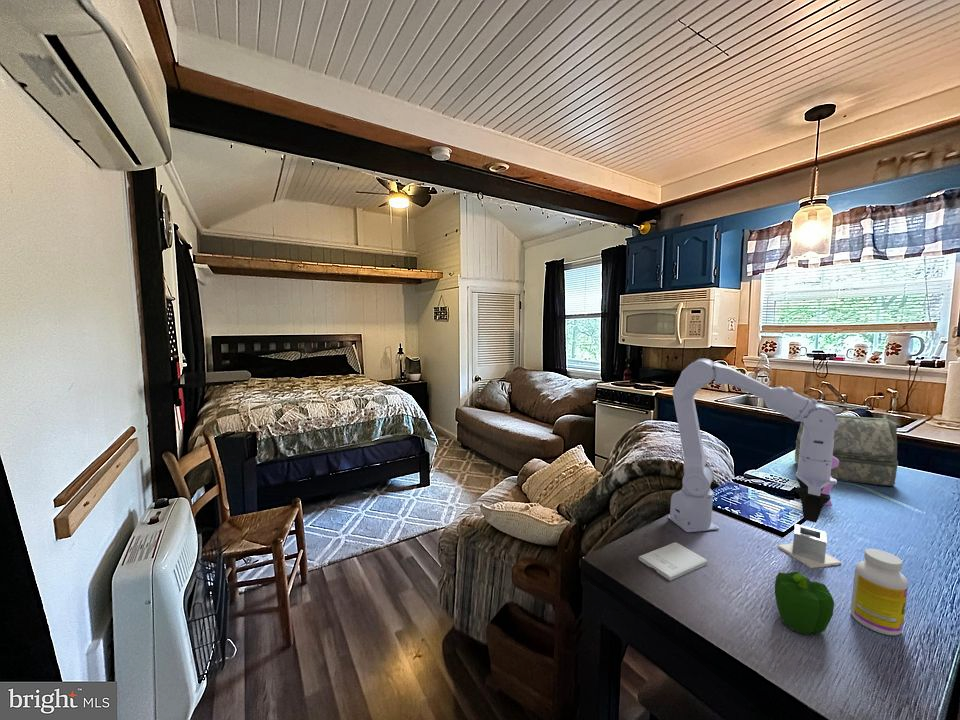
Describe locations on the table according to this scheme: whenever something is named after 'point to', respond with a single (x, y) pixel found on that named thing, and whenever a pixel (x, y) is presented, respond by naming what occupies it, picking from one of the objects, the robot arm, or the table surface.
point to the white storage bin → (809, 543)
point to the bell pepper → (803, 603)
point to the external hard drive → (673, 560)
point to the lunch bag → (863, 450)
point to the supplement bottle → (879, 592)
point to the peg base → (810, 563)
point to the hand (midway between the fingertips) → (809, 514)
